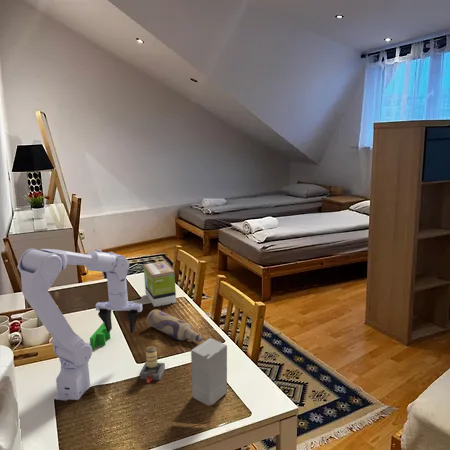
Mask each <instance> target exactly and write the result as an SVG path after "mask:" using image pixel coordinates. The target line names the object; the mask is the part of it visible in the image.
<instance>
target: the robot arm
mask: <svg viewBox="0 0 450 450" xmlns="http://www.w3.org/2000/svg"><path fill="white" fill-rule="evenodd" d="M67 265H73V266H84V267H85V269H86V270H88V271H92V272H101V273H102V272H103V273H106V283H107V291H108V292H107V294H108V301H102V302H99V301H98V302H96V304H95V311H99V312H98V317H99V318H100V320H101V321H102V324H103V323H104V325H105V327H106V329H107V332H110V333H111V331H112V329H113V328H112V327H113V325H112V324H113V323H112V311H114V312H115V311H117V312H119V311H123V312H125V311H128V312H129V313H128V314H127V317H128V318H127V319H128V324H129V332H130V334H134V332H135V329H136V323H137V320H138V316H139V315H140V313H142V311H143V304H142V303H137V302H132V301H129V299H128V297H129V296H128V286H127V277H128V270H129V268H130V261H129V260H128V259H127V257H126V256H125V255H122V254H118V253H115V252H114V251H108V252H106V251H103V250H102V249H97V248H95V249H94V250H91V251H88V252H87V253H80V252H74V251H67V250H62V249H53V248H40V250H39V249H37V248H28V249H27V250H25V251H24V252H23V253H22V254H21V256H20V258H19V261H18V264H17V269H18V272H19V273H20V280H21V281H20V282H21V292H22V295H23V296H24V298H25V300H26V301H27V302H28V303H27V304H29V306H30V307H31V309H32V310H33V311H34V313H35V315H36V316H37V317H38V319H39V320H40V322H41V323H42V325H43V327H45V328H46V330H47V332H48V333H49V335H50V336H51V337H52V339H51V342H50V343H51V345H52V347H53V354H54V355H55V356H56V357H58V359H59V362H60V371H59V373H58V375H57V376H56V379H55V384H56V391H57V395H56V396H55V398H54V399H55V400H56V401H68V400H72V401H73V400H76V401H78V400H80V398H82V395H84V394H85V393H86V391H87V390H89V389H90V387H91V379H90V369H89V362H90V359H91V358H92V355H93V350H92V347H91V345H90V343H88V342H86V341H85V340H84V339H83V338H82V337H81V336H80V335H79V334H77V333H76V332H75V331H74V330H73V328H72V327H71V325H70V323H69V322H68V320H67V319H66V317H65V316H64V314H63V313H62V311H61V310H60V308H59V307H58V305H57V304H56V302H55V300H54V299H53V297H52V295H51V294H50V292H49V290H50V289H51V287H52V286H53V284H54V283H55V281H56V279H57V278H58V276H60V273H61V271H62V270H64V271H65V270H66V268H67Z"/></svg>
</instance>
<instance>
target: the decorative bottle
mask: <svg viewBox="0 0 450 450" xmlns="http://www.w3.org/2000/svg"><path fill="white" fill-rule="evenodd" d="M146 323H147V325H148V326H149V327H152V328H153V329H155V330H158V331H160V332H162V333H165V334H166V335H168V336H169V337H170V338H171V339H174V340H177V341H181V342H182V341H188V340H189V341H194V342H200V343H202V341H203V337H202V336H201V335H200V333H198V332H196V331H195V330H193V328H192V325H191V324H190V323H188V322H187V321H184V320H181V319H179V318H177V317H175V316H173V315H170V314H169V313H167V312H164V311H162V310H161V309H152V310H151V311H150V312H149V313H148V314H147V317H146Z"/></svg>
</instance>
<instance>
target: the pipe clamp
mask: <svg viewBox="0 0 450 450" xmlns="http://www.w3.org/2000/svg"><path fill="white" fill-rule="evenodd" d="M110 339H111V331H110V332H107V329H106V327H105V325H104V323H103V322H102V323H101V324H100V326H99V327H98V328H97V329H96V331H94V333H92V335H91V336H90V337H89V344H90V345H91V347H92V351H93V350H94V351H95V350H96V348H97V347H98V346H100V347H101V346H104V347H105V346H106V341H107V340H110Z"/></svg>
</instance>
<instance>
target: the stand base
mask: <svg viewBox="0 0 450 450" xmlns="http://www.w3.org/2000/svg"><path fill="white" fill-rule="evenodd" d="M165 369H166V367H165V362H157V366H156V367H152V368H150V367H147V363H146V362H145V363H144V365H143V367H142V368H141V370H140V372H139V380H146V383H147V384H150V383H151V382H153V381H160V380H161V378H162V376H163V374H164V372H165ZM148 370H155V371H156V370H157V372H151V371H149V372H148Z"/></svg>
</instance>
